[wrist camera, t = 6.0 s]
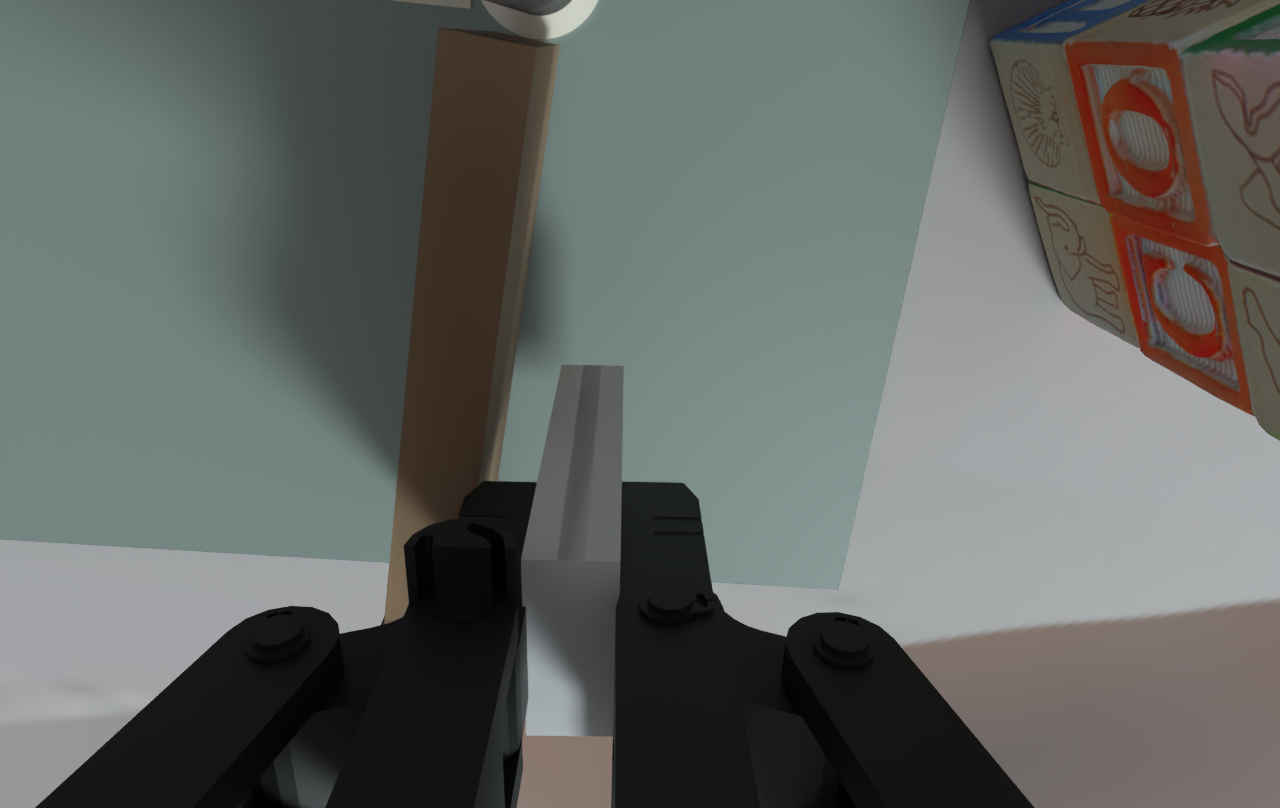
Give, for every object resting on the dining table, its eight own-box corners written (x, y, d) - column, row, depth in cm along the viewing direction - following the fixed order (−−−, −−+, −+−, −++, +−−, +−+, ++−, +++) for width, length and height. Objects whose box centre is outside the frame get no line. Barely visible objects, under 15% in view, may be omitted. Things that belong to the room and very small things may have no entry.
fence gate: (432, 530, 20) (364, 719, 14) (488, 29, 15) (423, 25, 10) (494, 539, 20) (449, 729, 14) (565, 45, 16) (541, 49, 10)
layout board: (-177, 518, 20) (-195, 529, 19) (-729, -1176, 10) (-786, -1227, 10) (834, 580, 21) (839, 591, 21) (1145, -839, 12) (1165, -872, 12)
